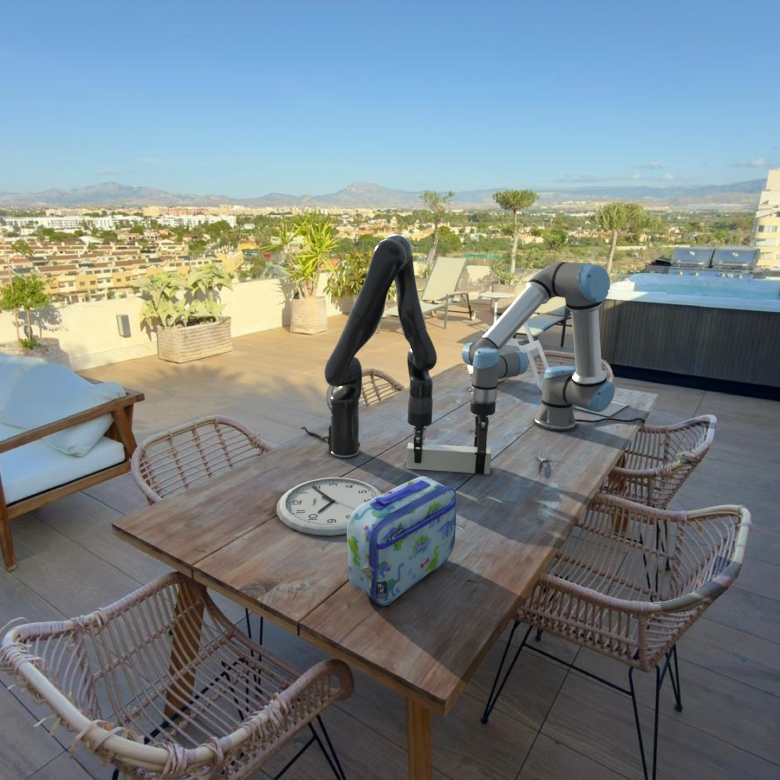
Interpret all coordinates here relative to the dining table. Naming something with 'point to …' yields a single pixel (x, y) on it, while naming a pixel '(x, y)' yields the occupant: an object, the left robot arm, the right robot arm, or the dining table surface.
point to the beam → (447, 458)
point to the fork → (542, 460)
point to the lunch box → (400, 538)
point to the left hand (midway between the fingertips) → (418, 459)
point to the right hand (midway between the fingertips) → (478, 464)
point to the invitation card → (608, 408)
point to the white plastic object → (528, 350)
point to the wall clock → (324, 504)
